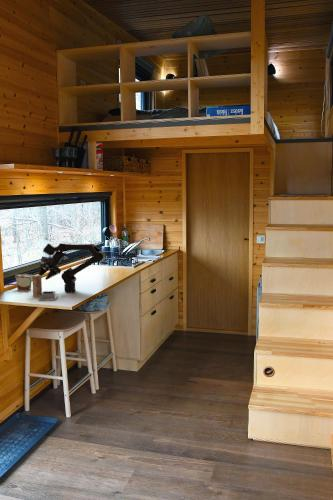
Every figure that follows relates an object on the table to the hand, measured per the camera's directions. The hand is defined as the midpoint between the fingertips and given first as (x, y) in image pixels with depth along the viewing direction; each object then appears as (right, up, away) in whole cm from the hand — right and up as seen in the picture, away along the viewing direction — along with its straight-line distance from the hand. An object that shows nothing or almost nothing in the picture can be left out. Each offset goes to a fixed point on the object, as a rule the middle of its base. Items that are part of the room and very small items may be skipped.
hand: (41, 278), depth 315 cm
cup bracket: (+7, -12, -10) cm, 17 cm away
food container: (-15, -8, +16) cm, 23 cm away
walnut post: (-2, -11, -2) cm, 11 cm away
